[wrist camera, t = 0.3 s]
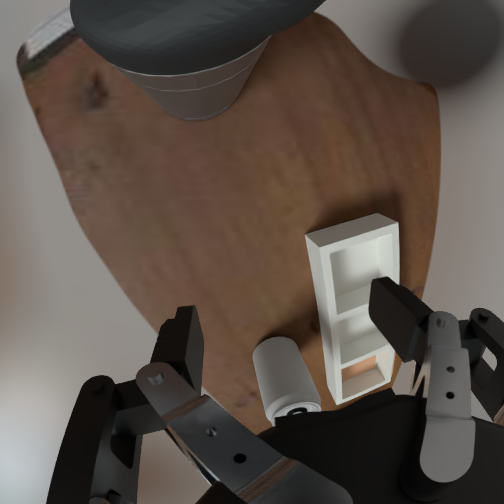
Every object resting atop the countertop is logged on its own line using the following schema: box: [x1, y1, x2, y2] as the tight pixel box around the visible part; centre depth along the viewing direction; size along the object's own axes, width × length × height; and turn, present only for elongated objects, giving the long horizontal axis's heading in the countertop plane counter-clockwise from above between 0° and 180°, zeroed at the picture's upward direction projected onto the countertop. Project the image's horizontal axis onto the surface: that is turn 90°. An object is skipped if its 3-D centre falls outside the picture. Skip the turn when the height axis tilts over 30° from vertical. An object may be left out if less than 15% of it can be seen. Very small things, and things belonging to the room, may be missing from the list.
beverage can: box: [253, 337, 321, 426], centre depth 31 cm, size 6×6×12 cm
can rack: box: [305, 213, 399, 405], centre depth 34 cm, size 28×10×4 cm, turn 14°
